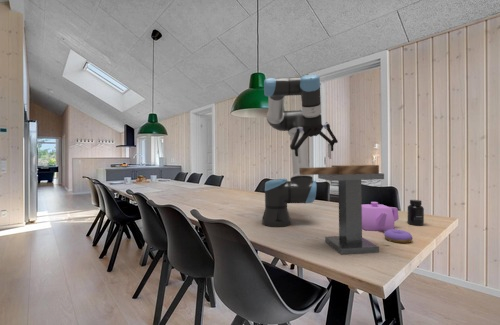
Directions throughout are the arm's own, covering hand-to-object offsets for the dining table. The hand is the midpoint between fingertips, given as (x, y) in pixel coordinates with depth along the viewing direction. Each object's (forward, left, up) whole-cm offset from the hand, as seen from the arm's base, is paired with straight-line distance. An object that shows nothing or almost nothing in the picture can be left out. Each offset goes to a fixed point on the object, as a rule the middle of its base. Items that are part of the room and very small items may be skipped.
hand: (314, 159), depth 113 cm
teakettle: (+19, +25, -34) cm, 46 cm away
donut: (+31, +11, -34) cm, 47 cm away
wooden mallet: (+14, -12, -5) cm, 19 cm away
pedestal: (+18, -8, -33) cm, 39 cm away
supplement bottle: (+34, +43, -34) cm, 64 cm away
